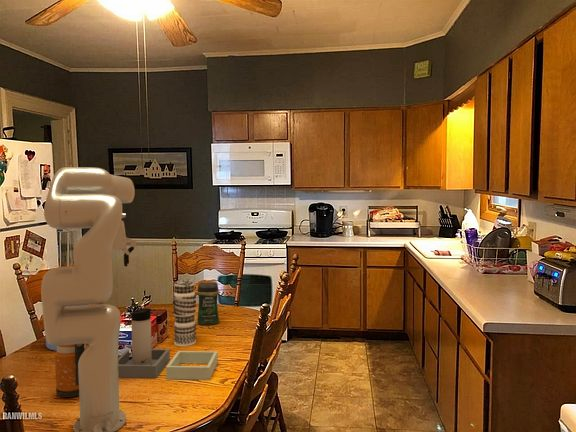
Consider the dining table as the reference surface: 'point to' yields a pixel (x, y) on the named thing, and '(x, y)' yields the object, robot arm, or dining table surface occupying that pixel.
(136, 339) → the travel mug
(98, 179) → the robot arm
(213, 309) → the coffee jar
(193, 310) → the decorative candle
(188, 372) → the sage crate
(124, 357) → the charcoal tray
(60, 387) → the canister
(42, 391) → the dining table surface
